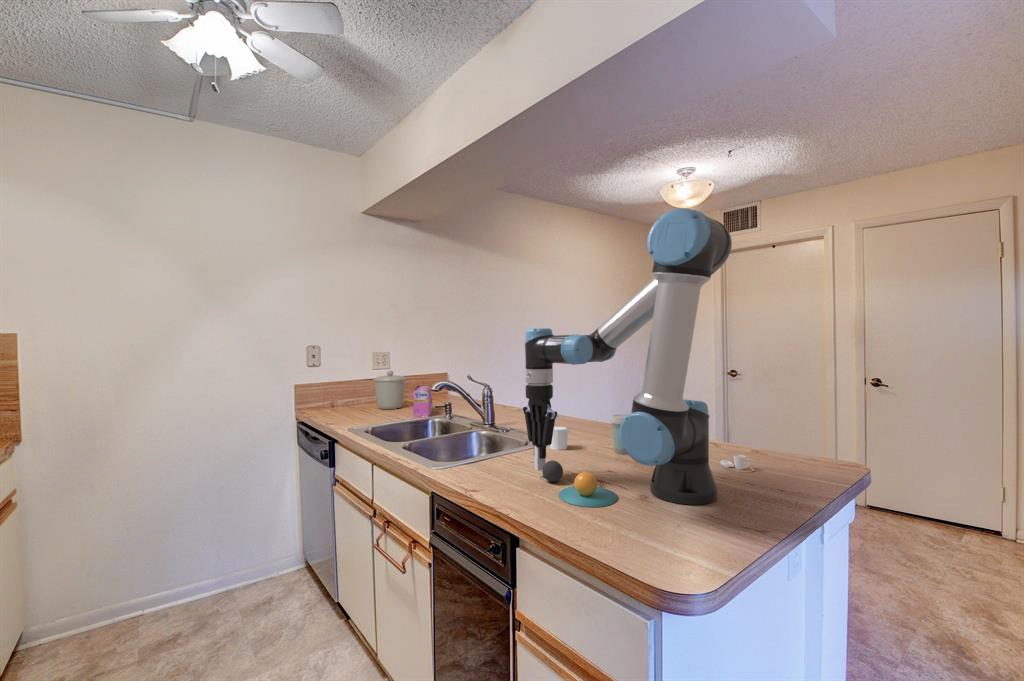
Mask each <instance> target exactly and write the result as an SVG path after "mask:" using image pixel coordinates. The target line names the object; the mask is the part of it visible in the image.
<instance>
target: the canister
mask: <svg viewBox="0 0 1024 681" xmlns="http://www.w3.org/2000/svg"><path fill="white" fill-rule="evenodd" d="M372 380H373V381H374V387H375V388H374V389H375V398H376V403H377V404H376V405H377V407H378V408H379V409H381V410H398V409H401V408H402V407H403V404H404V401H405V400H404V399H405V388H406V380H407V377H405V376H403V375H397V374H396V375H394V371H393V370H387V372H386V375H381V376H380V375H379V376H377V377H375V378H374V379H372ZM397 408H398V409H397Z"/></svg>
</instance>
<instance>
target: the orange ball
mask: <svg viewBox="0 0 1024 681" xmlns="http://www.w3.org/2000/svg"><path fill="white" fill-rule="evenodd" d="M573 484H574V486H575V489H576V491H577V492H578V493H579V494H581V495H583V496H590V495H592V494H593V493H594V492H595V491H596V489H597V487H598V481H597V479H596V477H595V476H594V474H592V473H590V472H587V471H583V472H580V473H579V474H577V475H576V477H575V478H574V481H573Z"/></svg>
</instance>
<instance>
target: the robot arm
mask: <svg viewBox="0 0 1024 681" xmlns="http://www.w3.org/2000/svg"><path fill="white" fill-rule="evenodd" d="M646 240H647V241H646V242H647V243H646V244H647V246H646V247H647V252H648V253H649V254H650V256H651V258H652V260H653V265H652V271H651V274H652V279H650V281H648V282H647V283H646V284H645V285H644V286H643V287H641V288H640V289H639V290H638V291H637V292H636V293H635V294H634V295H633V296H632V297H631V298H630V299H628V300H627V301H626V302H625V303H624V304H623V305H622V306H620V308H618V310H616V311H615V312H614V313H613V314H612V315H611V316H610V317H608V319H606V320H605V321H604V322H603V323H602V324H600V326H599V327H597V328H596V329H595V330H594V331H593V332H592V333H589V334H563V335H562V334H561V335H559V334H558V335H554V334H553V330H552V328H550V327H549V328H547V327H546V328H545V327H544V328H543V327H540V328H536V327H535V328H528V329H527V330H526V331H525V335H524V336H525V340H524V352H525V353H524V355H525V356H524V357H525V383H526V385H525V398H526V399H528V401H527V406H523V407H522V411H523V413H524V418H525V419H524V420H525V426H526V430H527V431H526V432H527V439H528V441H529V442H531V444H532V445H533V456H534V457H533V458H534V470H535V471H537V472H538V471H542V469H543V466H544V464H545V463H546V458H547V447H548V446H550V445H551V443H552V437H553V430H554V427H555V423H556V419H557V417H558V412H557V411H554V410H553V409H552V404H551V399H553V397H554V389H553V388H554V386H553V384H552V383H553V382H554V380H553V379H554V376H553V373H554V369H553V365H554V364H563V365H573V366H574V365H585V364H587V363H599V362H600V363H602V362H605V361H609V360H611V359H612V358H614V356H615V354H616V352H617V348H619V347H620V346H621V345H622V344H623V343H625V342H626V341H627V340H628V339H629V338H631V337H632V336H633V335H634V334H635V333H637V332H638V331H639V330H640V329H642V328H643V327H644V326H645V325H647V323H648V322H650V321H652V322H651V328H650V333H649V340H648V345H647V346H648V348H647V355H646V361H645V365H644V366H645V367H644V373H643V382H642V385H641V386H642V387H641V391H640V392H638V393H637V394H635V395H634V396H633V400H632V406H631V412H630V413H629V414H627V415H628V416H627V417H626V418H625V419H624V420H623V421H622V423H621V426H620V431H619V434H620V440H621V444H622V446H623V448H624V449H625V450H626V452H627V455H628V456H629V457H630V458H631V459H632V460H634V462H636V463H638V464H640V465H643V466H648V467H654V466H655V467H654V469H653V472H652V476H651V479H650V482H649V483H650V486H649V487H650V489H649V490H650V493H651V494H652V495H653V496H654V497H656V498H659V499H661V500H663V501H668V502H670V503H674V504H682V505H690V506H691V505H693V506H694V505H696V506H698V505H706V504H707V505H708V504H711V503H714V502H715V501H717V499H718V487H717V485H716V482H715V479H714V475H713V472H712V470H711V466H710V462H709V461H710V456H709V455H710V453H709V452H710V450H709V449H710V436H709V435H710V432H709V430H710V429H709V428H710V424H709V423H710V420H709V419H710V414H709V406H708V404H707V403H706V402H705V401H702V400H692V399H684V393H685V392H684V391H685V386H686V379H687V374H688V368H689V362H690V357H691V356H690V355H691V351H692V350H691V349H692V344H693V337H694V331H695V324H696V321H697V320H696V319H697V315H698V314H697V313H698V308H699V303H700V302H699V300H700V295H701V288H702V287H703V286H704V285H705V284H706V283H708V282H709V281H710V280H711V277H712V276H713V274H715V273H717V271H718V270H719V269H720V268H721V267H722V266H723V265H725V263H726V261H727V260H728V259H729V257H730V255H731V251H732V246H733V242H732V236H731V234H730V231H729V230H728V228H727V227H726V226H725V225H724V224H723V223H722V222H720V221H718V220H716V219H713V218H711V217H709V216H707V215H705V214H704V213H703V212H701V211H700V210H696V209H691V208H684V207H681V208H680V207H679V208H675V209H672V210H669V211H667V212H665V213H664V214H662V215H661V216H660V217H659V218H657V220H656V221H655V222H654V223H653V224H652V226H651V228H650V229H649V232H648V235H647V239H646Z"/></svg>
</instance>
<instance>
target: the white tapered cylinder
mask: <svg viewBox="0 0 1024 681" xmlns="http://www.w3.org/2000/svg"><path fill="white" fill-rule="evenodd" d="M568 438H569V427H566V426H560V425H559V426H555V425H554V430H553V437H552V443H551V445H549V447H550V449H551V450H553V451H564V450H567V448H568Z"/></svg>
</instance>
